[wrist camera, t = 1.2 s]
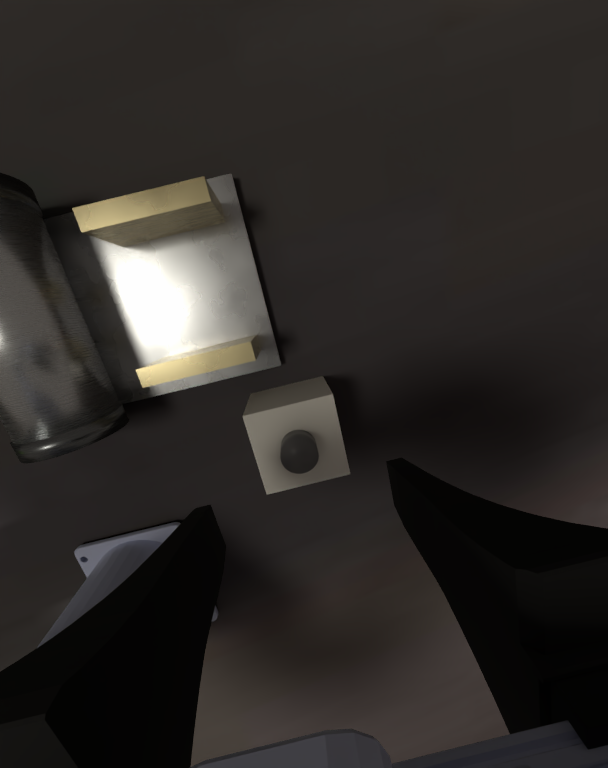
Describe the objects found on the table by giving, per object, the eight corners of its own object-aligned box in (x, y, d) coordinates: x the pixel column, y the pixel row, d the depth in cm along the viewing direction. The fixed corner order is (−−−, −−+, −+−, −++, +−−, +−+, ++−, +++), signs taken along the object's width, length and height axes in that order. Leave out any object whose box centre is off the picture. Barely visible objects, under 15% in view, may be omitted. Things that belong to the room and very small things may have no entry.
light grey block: (337, 441, 22) (355, 486, 16) (270, 457, 22) (265, 508, 16) (322, 375, 21) (336, 401, 15) (251, 393, 21) (239, 424, 15)
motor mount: (284, 375, 20) (284, 401, 15) (65, 428, 20) (-17, 475, 15) (229, 162, 17) (202, 92, 11) (-33, 225, 17) (-186, 186, 11)
